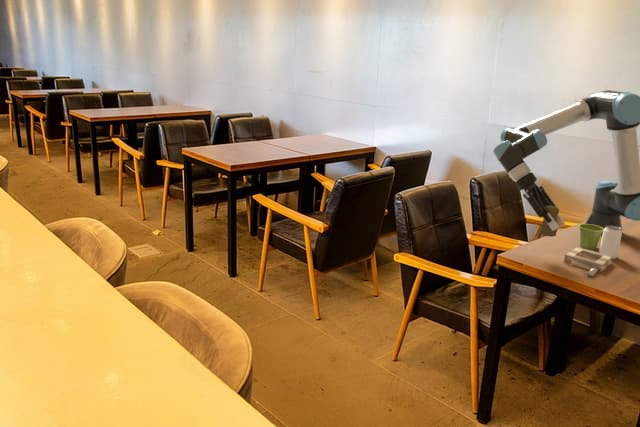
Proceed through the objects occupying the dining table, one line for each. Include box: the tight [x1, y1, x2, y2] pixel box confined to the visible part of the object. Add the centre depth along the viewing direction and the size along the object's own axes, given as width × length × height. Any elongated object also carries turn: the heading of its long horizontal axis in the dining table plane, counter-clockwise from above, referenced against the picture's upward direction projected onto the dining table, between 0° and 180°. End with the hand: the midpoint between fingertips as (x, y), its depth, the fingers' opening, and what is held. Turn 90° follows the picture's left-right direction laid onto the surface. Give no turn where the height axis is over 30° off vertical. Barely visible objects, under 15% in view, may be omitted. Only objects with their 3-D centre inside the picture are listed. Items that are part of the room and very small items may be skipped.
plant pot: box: [578, 223, 604, 251], centre depth 220 cm, size 9×9×9 cm
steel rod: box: [586, 266, 599, 278], centre depth 194 cm, size 10×2×2 cm, turn 136°
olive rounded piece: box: [538, 205, 560, 237], centre depth 204 cm, size 6×6×11 cm
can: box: [598, 225, 623, 260], centre depth 210 cm, size 6×6×12 cm
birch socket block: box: [563, 246, 613, 273], centre depth 204 cm, size 13×13×3 cm
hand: (559, 227), depth 202 cm, fingers closed on olive rounded piece, 5 cm apart
